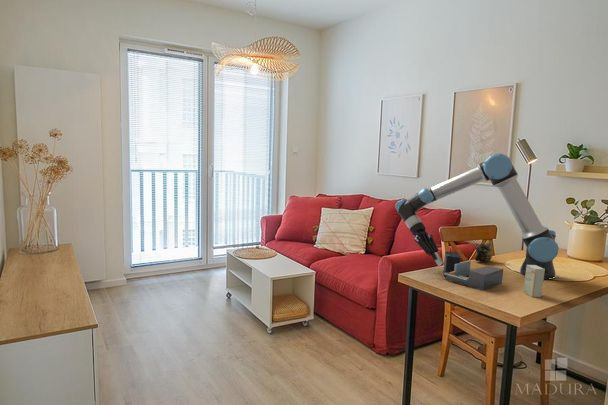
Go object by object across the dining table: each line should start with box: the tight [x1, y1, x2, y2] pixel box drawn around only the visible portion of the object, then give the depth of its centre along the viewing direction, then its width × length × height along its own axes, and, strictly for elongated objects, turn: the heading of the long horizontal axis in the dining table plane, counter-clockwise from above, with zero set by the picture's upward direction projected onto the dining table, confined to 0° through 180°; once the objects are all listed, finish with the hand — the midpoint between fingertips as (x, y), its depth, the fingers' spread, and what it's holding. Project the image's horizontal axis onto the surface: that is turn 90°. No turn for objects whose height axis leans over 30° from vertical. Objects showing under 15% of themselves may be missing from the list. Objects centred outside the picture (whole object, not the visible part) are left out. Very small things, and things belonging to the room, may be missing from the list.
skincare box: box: [522, 265, 545, 298], centre depth 171 cm, size 6×4×12 cm
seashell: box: [474, 242, 493, 263], centre depth 225 cm, size 11×11×10 cm
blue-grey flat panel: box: [450, 260, 472, 277], centre depth 190 cm, size 1×16×7 cm, turn 128°
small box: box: [442, 250, 461, 278], centre depth 196 cm, size 11×6×10 cm, turn 164°
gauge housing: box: [443, 265, 504, 291], centre depth 186 cm, size 18×18×7 cm
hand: (441, 264), depth 199 cm, fingers closed
